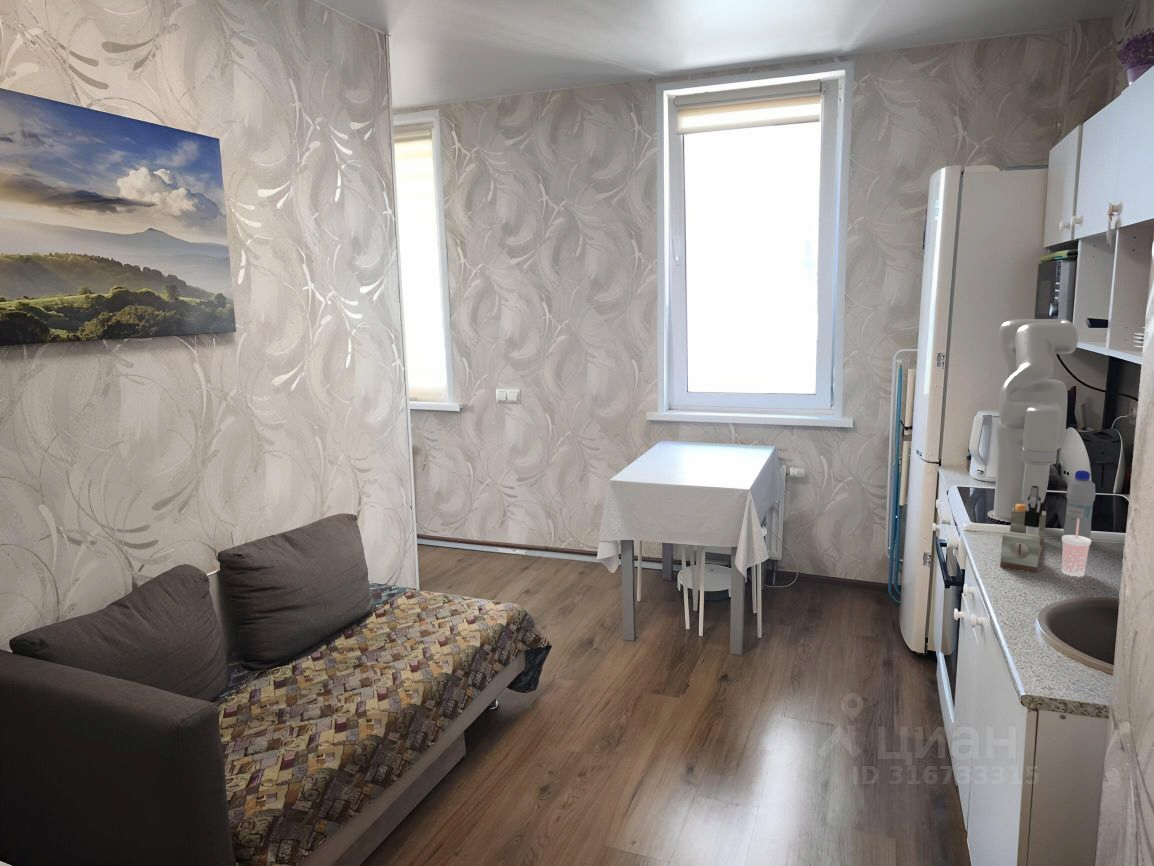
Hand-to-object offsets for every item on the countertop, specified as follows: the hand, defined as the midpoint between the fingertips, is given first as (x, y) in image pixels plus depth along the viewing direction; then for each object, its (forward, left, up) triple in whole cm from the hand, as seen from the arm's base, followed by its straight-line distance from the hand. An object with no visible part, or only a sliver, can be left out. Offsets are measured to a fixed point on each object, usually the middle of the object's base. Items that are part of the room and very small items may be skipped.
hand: (1032, 521), depth 197 cm
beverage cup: (+4, +10, -11) cm, 15 cm away
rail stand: (-6, -2, -11) cm, 13 cm away
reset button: (-18, -4, -5) cm, 19 cm away
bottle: (-24, +10, -11) cm, 28 cm away
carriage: (0, -2, -8) cm, 8 cm away
